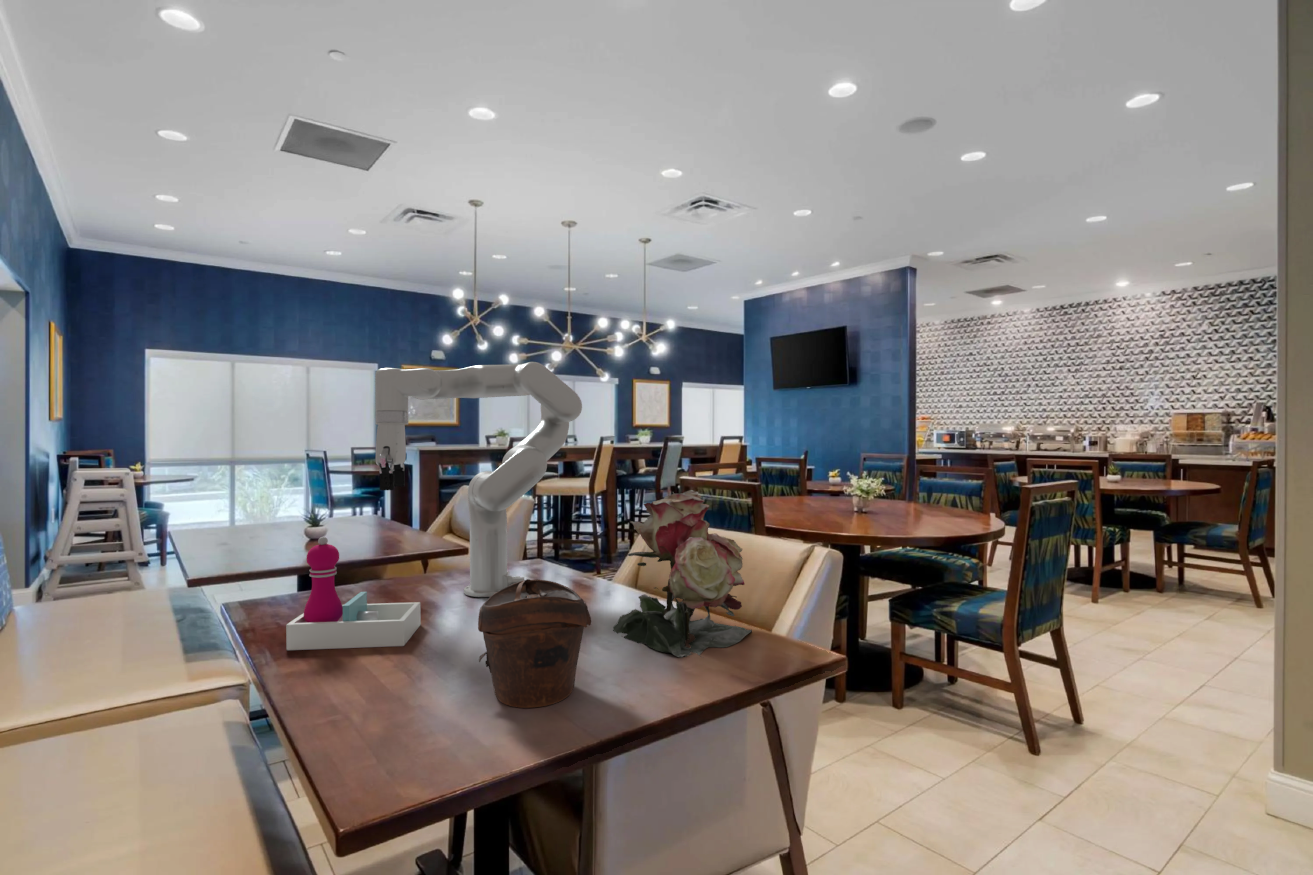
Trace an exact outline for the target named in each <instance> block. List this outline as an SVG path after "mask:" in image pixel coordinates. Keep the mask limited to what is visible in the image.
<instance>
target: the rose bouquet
mask: <svg viewBox="0 0 1313 875" xmlns="http://www.w3.org/2000/svg"><path fill="white" fill-rule="evenodd" d="M699 494H700V493H699V492H698V491H695V490H692V489H690V490H686V491H684V492H683V493H674V491H672V494H670V495H666V496H664V497H663V498H661V499H659V500H654V501H651V502H645V503H642V504H643V507H644V508H645V511H646V513H648V514H649V516H647V518H646V520H644V522H642V521H633V520H630V521H629V523H630V524H632V525H633V527H634V529H635V531H636V532H637V534H639V535H640V537H641V539H642V540H643V541H644V542H645V545H646V546H647V547H648V548H649V549H650V550H651V551H636V552H630V553H627V556H628V557H633V556H635V557H642V558H650V559H653V558H654V559H655V558H658V559H657V562H658V563H659V562H666V561H667V562H668V561H669V564H670V572H669V574H668V575H669V576H668V580H667V585H664V586H663V587H661V591H662V592H665V593H666V605H665V604H662V602H660V601H659V599H658V598H657V597H651V596H650V595H649V596H648V595H647V594H641V595H639V596H638V599H639V601H640V603H639V604H640V605H639V608H640V609H641V610H639V609H636V608H635V609H632V610H630V611H629V612H627V613H626V614H622V615H621V616H619V619H618V620H617V622H616V624H615V625H614V626H613V627H612V628H613V629H612V631H613V632H614V633H616V634H625V635H624V636H622V635H621V637H623V638H625V639H628V640H630V641H632V642H635V643H637V644H643V645H644V644H645V645H646V646H647V647H649V648H650V649H653V650H655V651H657V652H662V653H664V654H665V653H666V654H672V655H673V656H675V657H678V658H686V657H688V656H692V655H693V654H697V656H699V657H701V658H704V656H701V655H702V653H703V652H704V651H705V650H706V649H708V648H728V647H731V646H733V645H736V644H739V642H741V641H742V640H743V639H744V638H745V637H746V636H747V635H748V634H750V633H752V632H753V630H752V629H747V628H745V627H741V626H736V625H729V624H723V623H717V622H715V621H714V620H712V619H711V615H710V612H711V611H710V607H711V608H718V607H720V608H723V609H724V610H726V612H725V614H727V615H728V616H731V617H735V614H734V611H737V610H740V609H741V608H742V607H743V605H742V602H741V601H739V600H738V599H737V596H736V595H732V594H730V592H732V589H733V588H734V587H737V586H739V585H740V586H741V585H742V586H745V581H744V579H743V577H742V575H741V573H739V572H738V571H741V570H742V568H743V564H744V563H743V556H742V555H741V553H742V551H743V548H742V547H741V546H739V545H738V543H737V542H736V541H735V540H734V539H732V538H728V537H726V536H722V535H721V536H720V535H719V534H718V533H709V528H710V526H711V524H710V522H708V521H707V520H704V517H705V514H706V512H708V510H709V508H710V504H707V503H704V502H705V500H704V499H701V498H702V495H699ZM602 566H603V564H602V563H601V564H600V567H601V568H602ZM637 566H638V567H639V566H640V567H645V566H647V562H637ZM654 589H658V590H659V588H657V587H654ZM678 599H680V600H682V601H678ZM674 600H675V602H676V603H675V606H676V607H674V605H673V601H674ZM702 607H703V608H705V610H706V611H707V616H706V617H705V618H699V619H695V620H691V619H692V617H693V614H694V612H695V610H696V609H701V608H702ZM732 610H734V611H732ZM720 622H722V620H721V621H720ZM690 634H691V635H692V636H693V637H694V639H693V640H691V641H690V642H688V645H689V646H690V647H688V646H687V645H686V641H689V640H690Z"/></svg>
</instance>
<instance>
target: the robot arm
mask: <svg viewBox="0 0 1313 875" xmlns="http://www.w3.org/2000/svg"><path fill="white" fill-rule="evenodd" d="M374 377H375V378H374V379H375V380H374V382H375V385H374V386H375V387H374V388H375V392H374V394H375V400H374V401H375V406H374V407H375V425H377V430H376V439H375V464H376V465H377V466H379V471H378V472H379V490H380V491H394V490H395V488H396V487H405V480H406V477H405V475H406V474H405V472H406V471H405V469H406V468H405V462H406V458H407V456H406V455H407V452H406V451H407V450H406V449H407V446H406V429H405V428H406V427H405V426H406V425H409V397H412V398H414V399H415V400H438V399H439V400H441V399H442V400H443V399H460V398H461V399H462V398H464V399H483V398H485V399H487V398H501V397H502V398H504V397H524V396H531V397H532V398H533V399H534V400H536V402H538V403H539V404H540V415H541V416H540V421H539V424H538V426H536V428H535V429H534V430H533V431H532V432H531V433H529V435H527V436H526V437H525V438H523V440H521V441H520V442H518V443H517V444H516V445H515V446H513V447H512V448H510V449H509V450H508V451H507V452H506V453H505V454H504V456H503V458H502V461H501V463H502V464H501V465H499V467H498V468H496V469H495V470H493V471H489V470H486V471H481V472H479V473H477V474H476V475H475V476H473V478H472V479H471V480H470V482H469V484H468V487H467V502H468V510H469V511H468V513H469V584H468V585H467V586H465V587H464V588H463V593H464V595H466V596H468V597H472V598H473V597H475V598H490V597H491V596H492V595H493V594H495V593H497V592H498V591H500V590H501V589H503V588H505V587H507V586H510V585H512V584H515V583H518V582H521V581H524V580H525V577H523V576H521V575H520V576H519V575H517V576H516V575H515V576H513V575H510V571H508V517H507V516H508V514H507V508H509V507H511V506H512V505H513V504H514V503H515V502H517V501H518V500H519V499H520V498H522V497H523V496H524V495H525V494H526V493H527V492H529V491H530V490H531V489H533V487H534V486H535V485H536V484H538V483H539V482H540V481H541V480H542V479H543V477H544V476H545V474H546V472H547V468H548V461H549V460H550V459H551V458H552V457H553V456H554V455H555V454H556V453H557V452H558V451H559V450H560V449H561V448H562V447H563V445H564V444H565V442H566V440H567V438H568V434H569V430H570V423H571V422H573V421H575V420H576V419H578V418H579V416H580V415H581V413H582V410H583V403H582V402H583V401H582V399H581V397H580V396H579V395H578V393H577V392H576V391H575V390H573V388H571V387H570V386H569V385H568V384H567V383H565V382H564V381H563V380H562V379H560V378H559V377H558V376H557V375H556V374H555V373H553V371H551V370H550V369H548V368H547V367H546V366H545V365H544V364H542V363H540V362H538V361H537V362H536V361H529V362H525V363H516V364H515V363H514V364H513V363H511V364H478V365H472V366H467V367H464V368H459V369H458V368H457V369H446V370H434V369H432V368H427V367H423V368H412V369H411V368H410V369H403V368H398V367H397V368H394V367H384V368H379V369H377V370H376V372H375V376H374Z"/></svg>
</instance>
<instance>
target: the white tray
mask: <svg viewBox="0 0 1313 875" xmlns="http://www.w3.org/2000/svg"><path fill="white" fill-rule="evenodd" d="M343 605H344V604H342V606H343ZM367 611H378V620H370V621H343V614H342V616H341V618H340V619H339V620H338V622H311V623H307V622H306V621H305V619H304V612H303V613H302V614H300V615H298V616H297V617H296V618H294V619H292V620H291V621H290V622H288V623H287V624H286V625H285V626H286V628H285V630H286V632H285V633H286V634H285V636H286V643H285V644H286V651H302V650H303V651H305V650H306V651H307V650H328V649H329V650H331V649H353V648H354V649H355V648H381V647H383V648H384V647H404V646H405V645H406V644H407V643H408V642H409V640H410V639H411V638H412V636H413V635H414V634H415V632H416V631H417V630H418V629H419V628H420V627H421V602H420V601H418V602H415V601H413V602H388V603H386V602H383V603H381V602H379V603H367Z"/></svg>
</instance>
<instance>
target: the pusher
mask: <svg viewBox="0 0 1313 875" xmlns="http://www.w3.org/2000/svg"><path fill="white" fill-rule="evenodd" d="M367 604H368V592H367V591H360V592H359V593H358V594H355V596H353V597H352V598H350V600H348V601H346V602H345V603H344V604H342V605H343V621H370V620H378V611H367Z"/></svg>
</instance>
